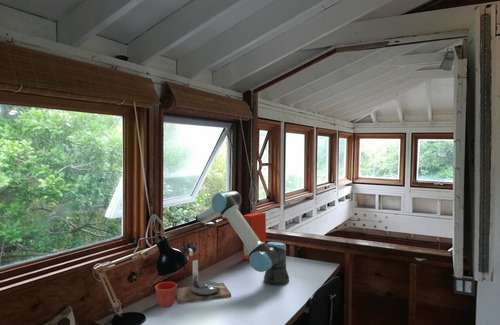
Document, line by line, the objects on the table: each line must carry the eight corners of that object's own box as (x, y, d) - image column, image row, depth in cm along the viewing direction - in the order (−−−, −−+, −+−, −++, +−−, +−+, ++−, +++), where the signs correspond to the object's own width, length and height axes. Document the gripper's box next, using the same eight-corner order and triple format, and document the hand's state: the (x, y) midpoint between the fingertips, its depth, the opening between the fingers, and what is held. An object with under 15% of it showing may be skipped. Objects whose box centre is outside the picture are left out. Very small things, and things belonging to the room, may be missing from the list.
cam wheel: (228, 286, 208) (227, 258, 208) (220, 297, 193) (219, 267, 192) (197, 283, 212) (196, 256, 211) (186, 294, 196) (186, 265, 196)
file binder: (242, 259, 265) (242, 215, 264) (257, 253, 279) (257, 212, 277) (251, 261, 260) (251, 216, 259) (266, 255, 273) (265, 213, 272)
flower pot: (172, 309, 183) (171, 289, 183) (151, 307, 185) (151, 288, 185) (180, 300, 193) (180, 282, 193) (161, 299, 195) (160, 281, 195)
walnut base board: (223, 285, 215) (223, 282, 215) (231, 296, 198) (231, 293, 198) (174, 291, 206) (174, 288, 206) (178, 303, 189) (178, 300, 189)
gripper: (195, 248, 238) (202, 258, 215) (175, 250, 234) (180, 260, 211) (195, 236, 237) (202, 246, 215) (175, 238, 233) (180, 248, 211)
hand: (191, 253), depth 213 cm, fingers closed
